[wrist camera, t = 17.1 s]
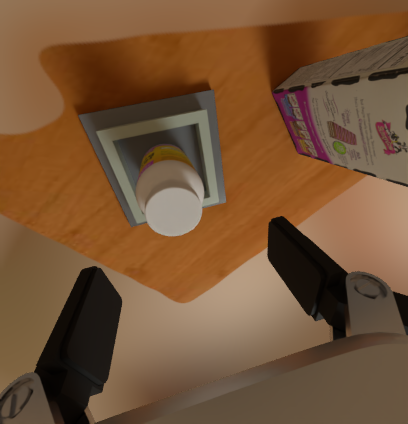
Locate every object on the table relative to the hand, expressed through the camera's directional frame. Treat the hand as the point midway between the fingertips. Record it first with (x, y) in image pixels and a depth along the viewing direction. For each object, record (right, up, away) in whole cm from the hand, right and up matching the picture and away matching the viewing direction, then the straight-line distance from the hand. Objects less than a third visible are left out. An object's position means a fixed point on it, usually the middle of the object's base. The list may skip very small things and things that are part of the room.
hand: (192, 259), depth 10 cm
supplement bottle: (-5, +9, +16) cm, 19 cm away
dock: (-5, +9, +16) cm, 19 cm away
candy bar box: (+15, +17, +17) cm, 29 cm away
